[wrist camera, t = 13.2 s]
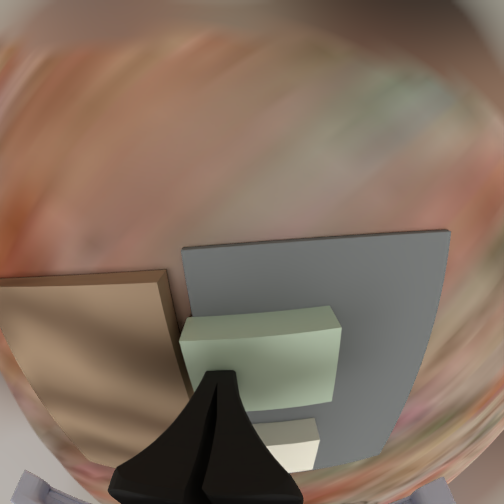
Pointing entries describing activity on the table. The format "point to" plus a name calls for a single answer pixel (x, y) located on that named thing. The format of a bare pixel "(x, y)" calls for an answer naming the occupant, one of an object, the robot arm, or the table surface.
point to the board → (100, 356)
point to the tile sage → (268, 354)
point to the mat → (347, 313)
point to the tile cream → (291, 442)
